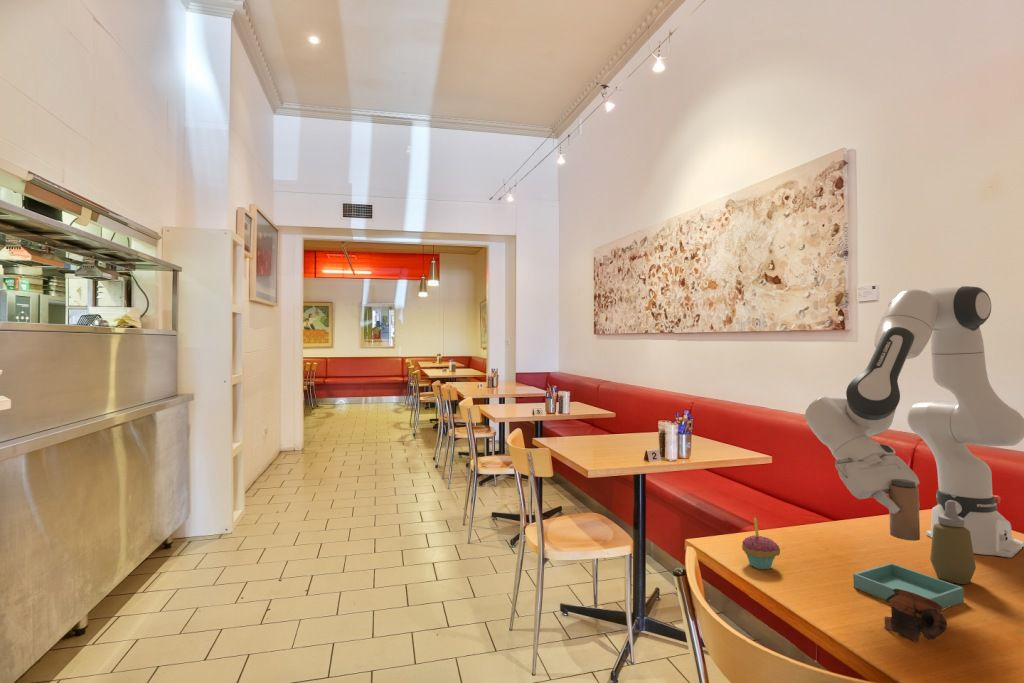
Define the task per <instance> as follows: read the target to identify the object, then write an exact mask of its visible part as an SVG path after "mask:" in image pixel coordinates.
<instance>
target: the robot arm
mask: <svg viewBox="0 0 1024 683" xmlns="http://www.w3.org/2000/svg"><path fill="white" fill-rule="evenodd" d="M991 313H992V301H991V298H990V296H989V294H988V293H987V292H986V291H985V290H984V289H982V288H981V287H978V286H967V285H965V286H961V287H941V288H940V287H939V288H932V289H928V290H922V289H916V288H915V289H913V288H912V289H907V290H903V291H901V292H899V293H898V294H897V295H896V296H895V297H894V298H893V299H892V300H891V301H889V303H888V306H887V308H886V310H885V311H884V313H883V315H882V317H881V319H880V321H879V322H878V326H877V329H876V332H875V336H874V337H875V338H874V347H875V350H874V352H873V355H872V356H871V358H870V361H869V363H868V364H867V367H866V368H865V369H864V370H863V371H862V373H860V374H859V375H857V376H856V377H855V378H853V379H852V380H851V381H850V383H849V384H848V386H847V388H846V392H845V395H846V396H845V397H829V396H820V397H819V398H817V399H814V401H812V402H811V403H810V404H809V406H808V407H807V408H806V410H805V413H804V415H805V416H804V419H805V422H806V424H807V425H808V427H809V428H810V430H811V431H812V433H813V434H814V435H815V436H816V438H817V439H818V440H819V441H820V442H821V443H822V444H823V445H824V446H826V447H827V448H828V449H829V451H830V452H831V454H832V456H833V457H834V458H835V463H834V466H835V469H836V471H837V473H838V476H839V478H840V480H841V481H842V482H843V484H844V486H846V488H847V490H849V493H851V495H852V496H854V497H855V498H856V499H858V500H864V499H868V498H869V499H870V498H873V499H875V500H876V502H878V503H879V504H881V505H882V506H884V507H885V508H887V510H890V512H891V513H893V514H895V513H898V512H900V511H902V507H901V506H899V504H898V503H897V502H893V501H892V500H891V499H890V498H889V496H888V495H889V489H890V486H889V485H890V484H891V480H892V479H904V480H910V481H914V482H915V483H916V486H917V487H918V485H919V484H920V480H919V477H918V475H916V473H915V472H914V471H913V469H912V468H910V467H909V466H908V465H907V463H906V462H905V461H904V460H903V459H902V458H900V457H899V456H897V455H896V453H897V452H896V450H895V449H894V448H893V447H892V446H891V445H887V444H883V443H880V442H877V441H875V440H872V439H871V438H872V437H874V436H877V435H880V434H882V433H885V432H887V430H888V429H889V428H890V427H891V426H892V423H893V422H894V417H895V414H896V410H897V407H898V405H899V403H900V400H901V391H900V388H899V382H898V380H899V376H900V374H901V371H902V369H903V367H904V365H905V362H906V360H910V359H914V358H917V357H919V356H920V355H921V353H922V352H923V351H924V349H925V347H926V346H927V345H928V342H929V341H930V353H931V368H932V378H933V380H934V382H935V383H936V384H937V385H938V386H940V387H942V388H943V389H946V390H948V391H949V392H950V393H952V394H953V395H954V397H955V398H956V400H957V402H955V401H942V400H941V401H940V400H931V401H930V400H929V401H921V402H917V403H914V404H913V405H911V407H910V409H909V410H908V412H907V415H906V416H907V419H906V420H907V424H908V426H909V428H910V430H911V431H912V432H913V433H914V434H915V435H917V436H918V437H919V438H921V439H922V441H923V442H924V443H925V444H926V446H928V448H929V449H930V451H931V453H932V455H933V457H934V461H935V463H936V470H937V471H936V472H937V482H938V483H937V484H938V489H936V494H935V496H936V502H937V504H936V505H935V506H934V507H932V510H931V521H930V522H931V524H930V530H926V532H925V535H926V536H928V537H930V538H931V539H932V536H933V526H934V525H935V524H936V523H939V522H938V515H940V514H944V512H945V508H946V504H947V501H953V502H954V505H955V508H956V511H957V514H958V516H959V517H962V518H963V519H964V527H965V528H967V529H968V530H969V531H970V535H971V541H972V547H973V553H974V555H975V554H976V555H986V556H997V557H998V556H999V557H1003V558H1013V557H1014V556H1015V555H1016V554H1018V552H1019V551H1021V549H1023V548H1024V541H1022V540H1019V539H1017V538H1014V537H1013V535H1012V534H1013V533H1012V532H1013V531H1012V524H1011V523H1010V521H1009V520H1007V519H1006V518H1005V517H1004V516H1003V515H1002V514H1001V513H1000V512H999V511H997V510H998V506H997V504H1000V503H1001V500H1002V499H1001V496H1000V495H994V494H993V479H992V478H993V475H992V473H993V472H992V469H991V467H990V466H989V464H988V463H986V461H984V460H982V459H981V458H979V457H977V456H975V455H974V454H973V453H972V452H971V451H970V450H969V447H968V446H967V444H971V445H978V446H986V447H1012V446H1016V445H1018V444H1019V443H1020V442H1021V441H1023V439H1024V417H1023V415H1022V414H1021V413H1020V412H1019V411H1017V409H1015V408H1013V407H1011V406H1010V405H1008V404H1006V402H1004V400H1002V399H1001V398H1000V397H999V395H997V393H996V391H994V389H993V387H992V385H991V384H990V381H989V376H988V372H987V367H986V366H987V365H986V356H985V344H984V339H983V335H982V331H981V327H980V326H982V325H983V324H984V323H986V322H987V320H988V319H989V318H990V316H991ZM870 437H871V438H870ZM920 506H921V505H920V503H919V508H920ZM1022 547H1023V548H1022Z"/></svg>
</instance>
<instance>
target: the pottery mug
mask: <svg viewBox="0 0 1024 683" xmlns="http://www.w3.org/2000/svg"><path fill="white" fill-rule="evenodd" d="M893 591H894V594H893V595H891V596H889V597H888V598H887V599H886V600H885V601H886V602H889V600H890V599H891V600H890V602H889V605H890V606H891V609H890V610H891V616H884V619H883V620H884V628H885V630H888V631H891V632H893V633H896V634H898V635H899V636H902V637H904V638H906V639H909V640H911V641H913V642H916V643H918V642H919V641H920V636H921V633H922V635H923V636H924V638H925V639H927V640H928V641H932V640H935V639H936V638H938V637H940V636H941V635H942V634H944V632H946V629H947V625H948V624H947V623H948V622H947V619H946V618H945V616H944V615H943V613H942V611H943V610H942V606H940V605H939V604H938V603H936V602H934V601H932V600H930V599H928V598H925V597H923V596H920V595H918V594H915V593H912V592H909V591H905V590H901V589H894V590H893ZM933 610H934V611H933ZM917 614H919V615H920V616H918V615H917Z"/></svg>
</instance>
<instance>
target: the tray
mask: <svg viewBox="0 0 1024 683" xmlns="http://www.w3.org/2000/svg"><path fill="white" fill-rule="evenodd" d="M852 576H853V588H855V589H857V590H859V591H861V592H865V593H867V594H870V595H872V596H875V597H877V598H879V599H882V600H884V601H886V599H887V598H888V597H889V596H891V595H893V594H894V591H893V590H894V589H901V590H905V591H909V592H912V593H915V594H918V595H920V596H923V597H925V598H928V599H930V600H932V601H934V602H936V603H938V604H939V605H940V606H942V609H944V608H946V609H948V608H947V607H949V606H952V605H954V606H957V605H959V604H958V603H960V604H962V603H961V602H963V603H964V602H965V600H964V597H965V596H964V586H963V587H962V586H960V585H956V584H953V583H952V582H949V581H946V580H943V579H939V578H936V577H933V576H930V575H927V574H924V573H923V572H918V571H915V570H913V569H909V568H907V567H904V566H901V565H898V564H896V563H893V562H892V563H887V564H883V565H880V566H877V567H876V566H875V567H872V568H869V569H866V570H865V569H864V570H862V571H858V572H855V573H853V575H852ZM890 600H891V599H890ZM890 600H889V601H888V602H889V603H890ZM956 604H957V605H956ZM952 607H953V606H952ZM949 608H950V607H949ZM944 610H945V609H944ZM933 611H934V610H933Z"/></svg>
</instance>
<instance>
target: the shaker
mask: <svg viewBox="0 0 1024 683" xmlns="http://www.w3.org/2000/svg"><path fill="white" fill-rule="evenodd" d="M889 486H890V489H889V494H888V497H889V498H890V499H891V500H892V501H893V502H897V503H898V504H899V506H901V507H902V511H900V512H898V513H895V514H893V513H891V512H890V510H889V509H888V510H889V511H888V512H889V535H890V536H892V537H893V538H896V539H899V540H905V541H915V542H916V541H919V540H921V535H920V534H921V532H920V531H921V529H920V528H921V527H920V525H921V524H920V507H919V504H920V492H919V490H920V488H919V487H918V485H917V486H916V483H915V482H914V481H910V480H904V479H892V480H891V484H890V485H889Z"/></svg>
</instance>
